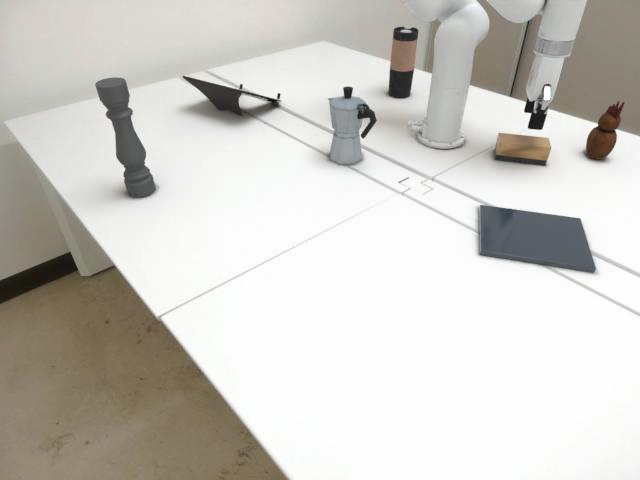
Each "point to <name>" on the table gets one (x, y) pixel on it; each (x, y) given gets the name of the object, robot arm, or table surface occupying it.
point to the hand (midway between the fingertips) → (532, 120)
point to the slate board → (534, 238)
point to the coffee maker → (348, 127)
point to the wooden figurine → (604, 133)
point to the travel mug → (402, 61)
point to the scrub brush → (522, 148)
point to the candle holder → (126, 137)
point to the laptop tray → (225, 95)
